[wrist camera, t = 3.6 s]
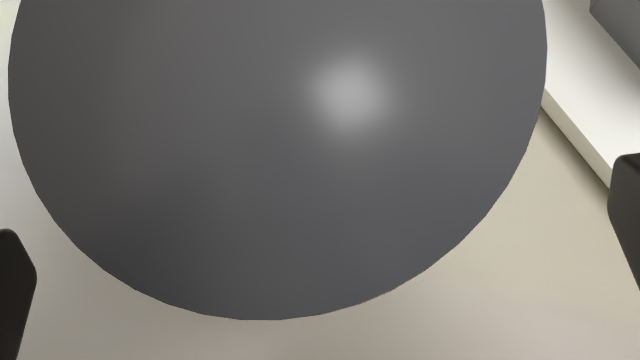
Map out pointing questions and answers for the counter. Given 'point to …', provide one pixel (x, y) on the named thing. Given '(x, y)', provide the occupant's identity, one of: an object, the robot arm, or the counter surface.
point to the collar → (594, 77)
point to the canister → (272, 139)
